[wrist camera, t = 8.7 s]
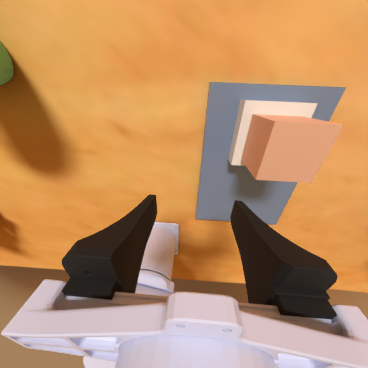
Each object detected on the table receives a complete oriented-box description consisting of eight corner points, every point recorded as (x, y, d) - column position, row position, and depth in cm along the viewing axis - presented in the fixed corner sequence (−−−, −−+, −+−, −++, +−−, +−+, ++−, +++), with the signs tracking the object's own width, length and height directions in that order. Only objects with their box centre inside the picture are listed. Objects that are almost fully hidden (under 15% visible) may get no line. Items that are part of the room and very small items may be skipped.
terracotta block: (282, 161, 18) (311, 183, 13) (240, 159, 18) (255, 179, 14) (301, 116, 15) (344, 124, 11) (252, 114, 15) (275, 121, 11)
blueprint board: (273, 221, 26) (281, 233, 24) (195, 215, 27) (195, 227, 24) (339, 87, 16) (365, 86, 13) (209, 82, 16) (212, 80, 14)
